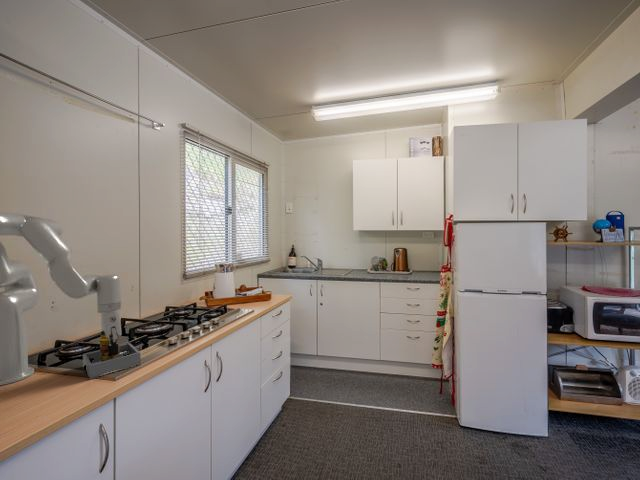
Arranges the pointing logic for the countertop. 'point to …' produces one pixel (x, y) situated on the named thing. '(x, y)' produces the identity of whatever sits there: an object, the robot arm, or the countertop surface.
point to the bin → (111, 361)
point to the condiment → (104, 348)
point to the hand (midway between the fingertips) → (111, 352)
